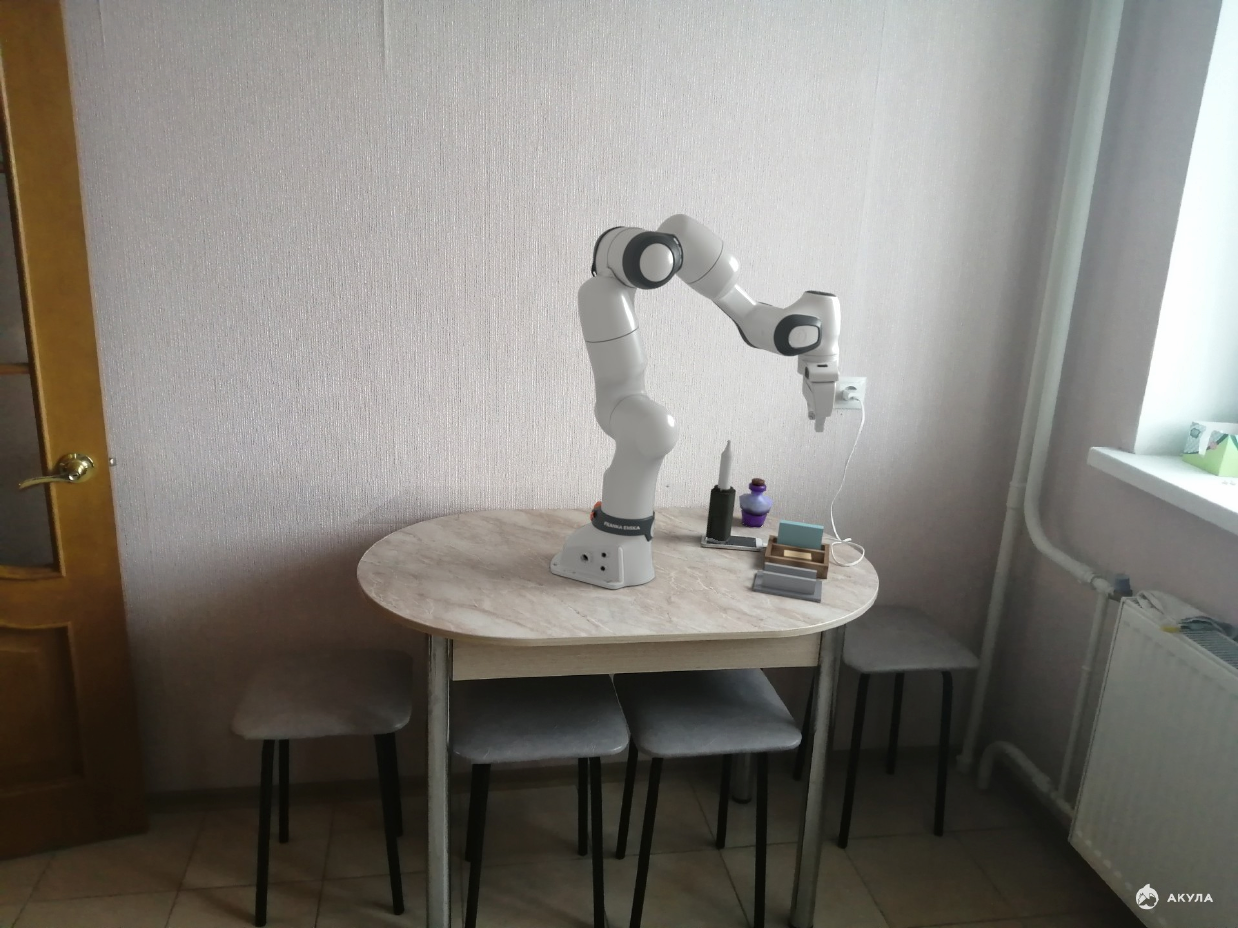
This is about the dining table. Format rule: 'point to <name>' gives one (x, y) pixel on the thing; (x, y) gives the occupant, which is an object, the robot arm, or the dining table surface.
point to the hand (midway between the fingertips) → (815, 425)
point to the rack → (817, 560)
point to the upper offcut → (797, 555)
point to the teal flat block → (800, 534)
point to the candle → (722, 500)
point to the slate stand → (789, 582)
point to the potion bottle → (755, 504)
